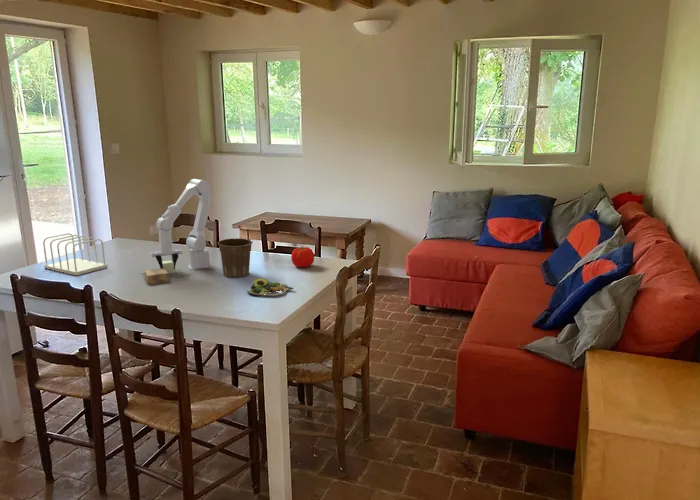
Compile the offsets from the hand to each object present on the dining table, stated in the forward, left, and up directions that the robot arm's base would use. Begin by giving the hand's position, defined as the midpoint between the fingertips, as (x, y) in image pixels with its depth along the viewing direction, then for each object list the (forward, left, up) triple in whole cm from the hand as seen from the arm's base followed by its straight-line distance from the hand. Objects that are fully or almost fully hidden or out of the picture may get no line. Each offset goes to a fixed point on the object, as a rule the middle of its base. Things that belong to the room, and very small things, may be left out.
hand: (167, 269), depth 268 cm
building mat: (+3, +6, -2) cm, 7 cm away
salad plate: (-34, +47, -2) cm, 58 cm away
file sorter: (+39, -29, -2) cm, 49 cm away
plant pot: (-29, +17, -2) cm, 34 cm away
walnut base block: (+7, +11, -1) cm, 13 cm away
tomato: (-63, +18, -2) cm, 66 cm away
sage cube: (0, 0, -1) cm, 1 cm away
